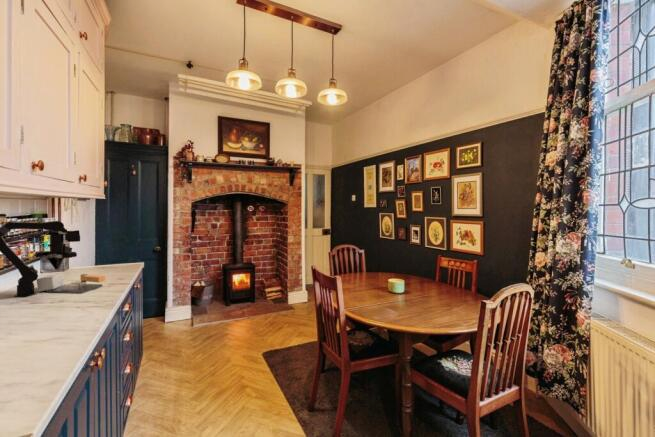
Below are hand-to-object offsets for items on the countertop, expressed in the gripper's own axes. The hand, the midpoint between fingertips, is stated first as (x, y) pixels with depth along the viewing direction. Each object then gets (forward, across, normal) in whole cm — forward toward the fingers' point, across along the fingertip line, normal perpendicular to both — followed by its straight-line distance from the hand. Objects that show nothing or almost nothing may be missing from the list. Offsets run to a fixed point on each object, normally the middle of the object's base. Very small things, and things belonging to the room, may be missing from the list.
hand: (56, 269), depth 173 cm
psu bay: (+13, -7, -5) cm, 16 cm away
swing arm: (+9, -13, -9) cm, 18 cm away
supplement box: (+9, +9, -9) cm, 16 cm away
